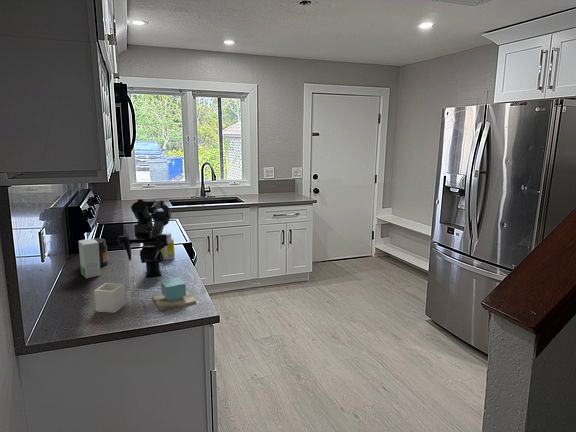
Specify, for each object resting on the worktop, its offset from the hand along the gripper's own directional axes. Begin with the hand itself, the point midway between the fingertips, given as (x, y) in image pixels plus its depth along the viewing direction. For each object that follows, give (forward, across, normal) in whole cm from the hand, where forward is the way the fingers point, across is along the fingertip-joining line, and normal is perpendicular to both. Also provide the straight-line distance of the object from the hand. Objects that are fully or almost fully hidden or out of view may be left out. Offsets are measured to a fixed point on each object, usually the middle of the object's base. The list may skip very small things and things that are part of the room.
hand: (142, 259), depth 152 cm
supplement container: (-18, -28, +37) cm, 50 cm away
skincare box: (-8, -26, +28) cm, 39 cm away
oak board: (+17, +12, +2) cm, 21 cm away
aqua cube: (+16, +12, +1) cm, 21 cm away
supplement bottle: (-21, +5, +40) cm, 45 cm away
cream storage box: (+18, -10, +1) cm, 21 cm away
